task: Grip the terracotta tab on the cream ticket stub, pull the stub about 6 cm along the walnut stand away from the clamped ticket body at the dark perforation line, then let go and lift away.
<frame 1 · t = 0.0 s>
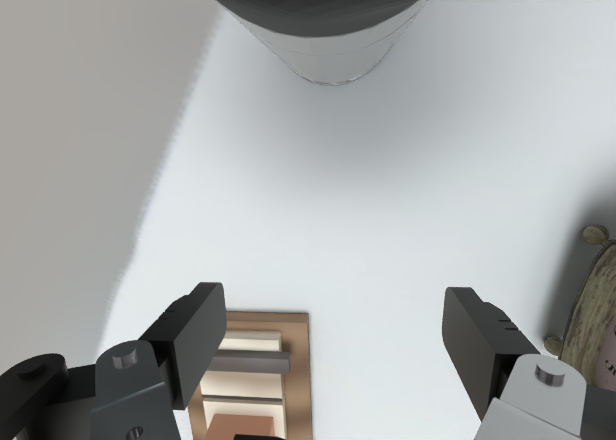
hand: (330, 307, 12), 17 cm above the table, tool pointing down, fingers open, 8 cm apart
tabletop clock: (598, 290, 29), on the table
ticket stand: (251, 399, 36), on the table
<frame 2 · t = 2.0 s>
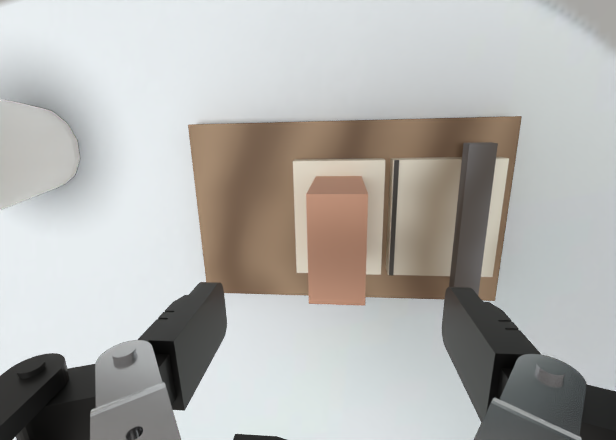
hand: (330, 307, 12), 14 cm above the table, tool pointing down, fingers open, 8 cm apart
stub: (337, 230, 20), point 5 cm above the table, slide at 0.0 cm
foam cup: (44, 148, 27), on the table
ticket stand: (345, 209, 25), on the table
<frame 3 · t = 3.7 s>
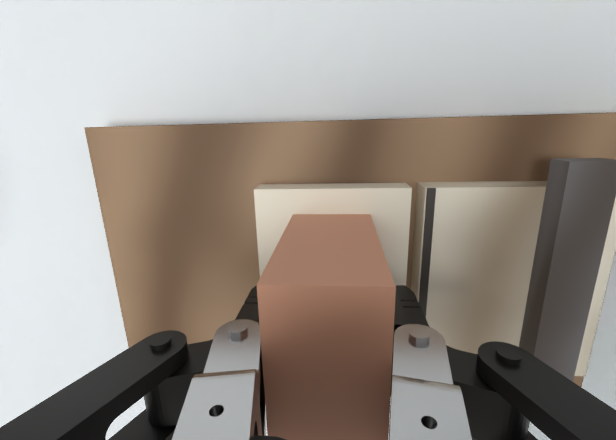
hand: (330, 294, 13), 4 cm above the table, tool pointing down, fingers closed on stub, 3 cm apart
stub: (330, 316, 11), point 5 cm above the table, slide at 0.0 cm, touching gripper
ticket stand: (342, 258, 16), on the table
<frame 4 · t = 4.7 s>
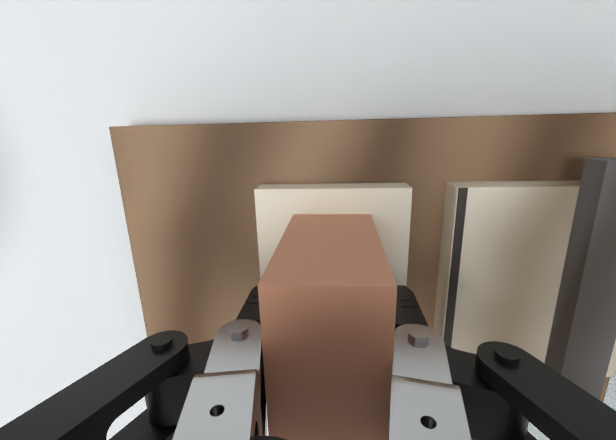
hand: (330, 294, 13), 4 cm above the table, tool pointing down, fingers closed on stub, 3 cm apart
stub: (330, 316, 11), point 5 cm above the table, slide at 1.1 cm, touching gripper
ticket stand: (366, 258, 16), on the table
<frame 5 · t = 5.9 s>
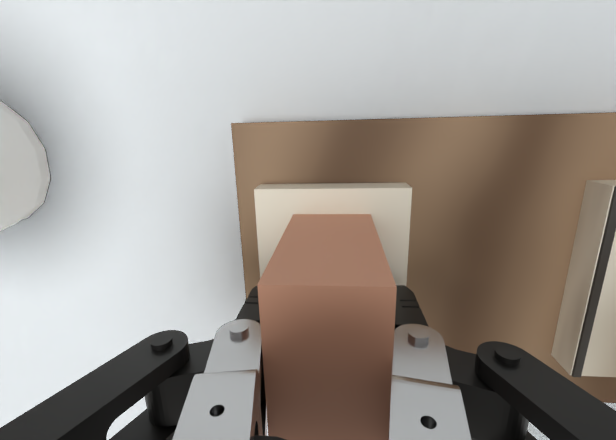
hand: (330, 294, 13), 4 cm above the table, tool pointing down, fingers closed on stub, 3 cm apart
stub: (330, 316, 11), point 5 cm above the table, slide at 6.4 cm, touching gripper
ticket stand: (479, 259, 16), on the table
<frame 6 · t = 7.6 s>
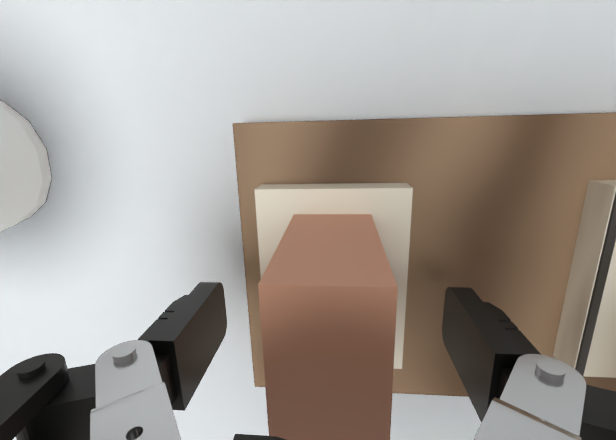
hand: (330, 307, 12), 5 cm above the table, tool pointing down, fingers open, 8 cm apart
stub: (331, 316, 11), point 5 cm above the table, slide at 6.4 cm
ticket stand: (480, 260, 16), on the table
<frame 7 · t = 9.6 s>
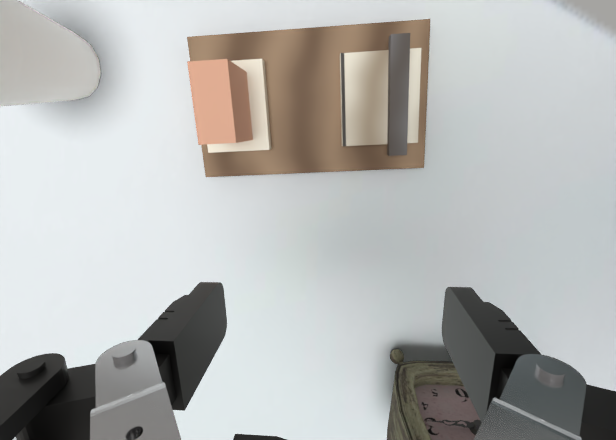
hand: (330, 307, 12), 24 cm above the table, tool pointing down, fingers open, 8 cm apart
stub: (226, 106, 29), point 5 cm above the table, slide at 6.4 cm
foam cup: (71, 67, 34), on the table
tabletop clock: (436, 372, 41), on the table
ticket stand: (309, 105, 33), on the table
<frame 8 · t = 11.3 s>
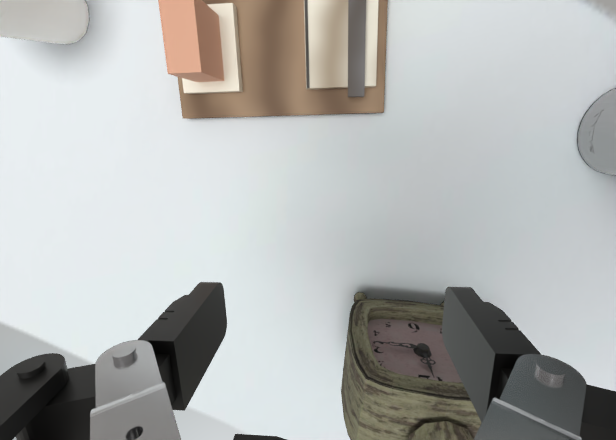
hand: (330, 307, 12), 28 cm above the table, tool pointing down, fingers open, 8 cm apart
stub: (197, 44, 31), point 5 cm above the table, slide at 6.4 cm
foam cup: (63, 13, 37), on the table
tabletop clock: (398, 317, 43), on the table
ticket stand: (279, 52, 36), on the table
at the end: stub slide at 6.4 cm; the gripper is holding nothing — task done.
